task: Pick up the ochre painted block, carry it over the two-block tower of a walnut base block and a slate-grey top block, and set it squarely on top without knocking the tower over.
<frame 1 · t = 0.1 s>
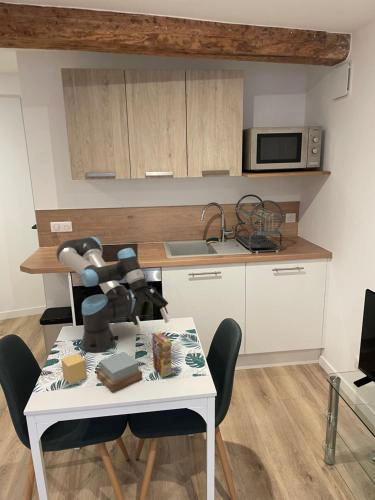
hand: (154, 326, 151), 15 cm above the table, tool tilted 35°, fingers open, 13 cm apart
ochre block: (75, 377, 143), on the table
candy box: (162, 371, 146), on the table
base block: (119, 379, 141), on the table, touching top block
top block: (119, 370, 140), point 3 cm above the table, touching base block
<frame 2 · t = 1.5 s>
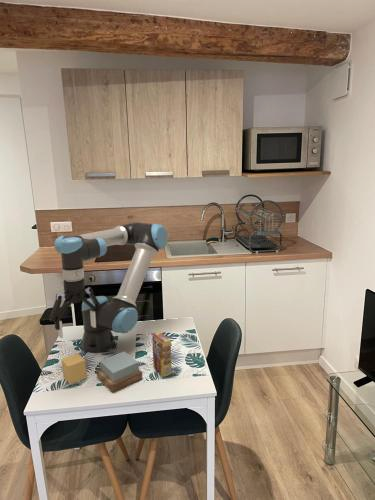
hand: (77, 331, 137), 20 cm above the table, tool pointing down, fingers open, 13 cm apart
nothing on the table moved.
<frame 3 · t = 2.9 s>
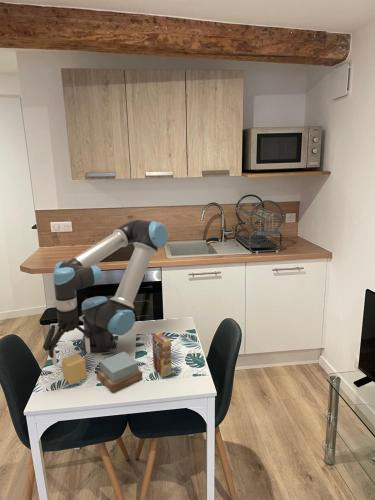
hand: (72, 358, 140), 9 cm above the table, tool pointing down, fingers open, 13 cm apart
nothing on the table moved.
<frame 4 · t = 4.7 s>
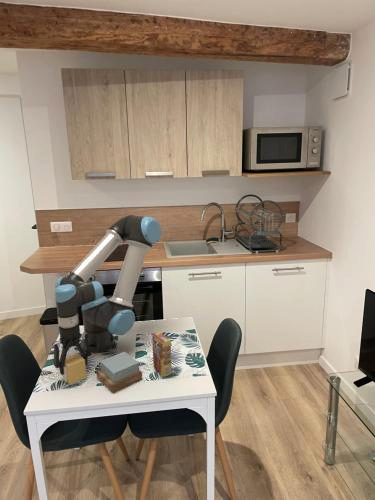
hand: (74, 376, 143), 0 cm above the table, tool pointing down, fingers closed on ochre block, 7 cm apart
ochre block: (74, 377, 143), on the table, touching gripper
everything else where it was.
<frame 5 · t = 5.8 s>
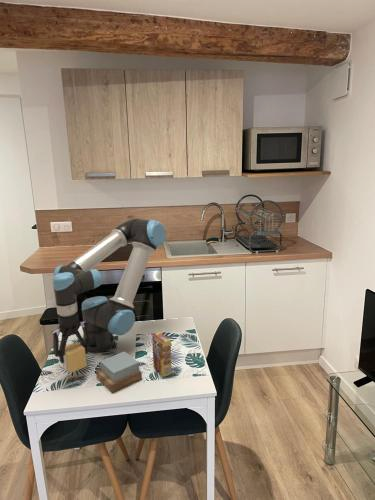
hand: (74, 365, 142), 5 cm above the table, tool pointing down, fingers closed on ochre block, 7 cm apart
ochre block: (75, 365, 142), point 5 cm above the table, touching gripper
everything else where it was.
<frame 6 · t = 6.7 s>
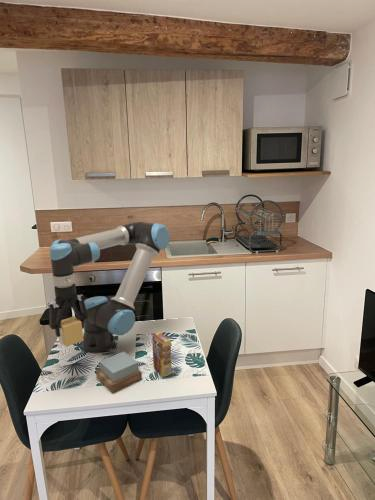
hand: (71, 339, 139), 16 cm above the table, tool pointing down, fingers closed on ochre block, 7 cm apart
ochre block: (71, 340, 139), point 16 cm above the table, touching gripper
everything else where it was.
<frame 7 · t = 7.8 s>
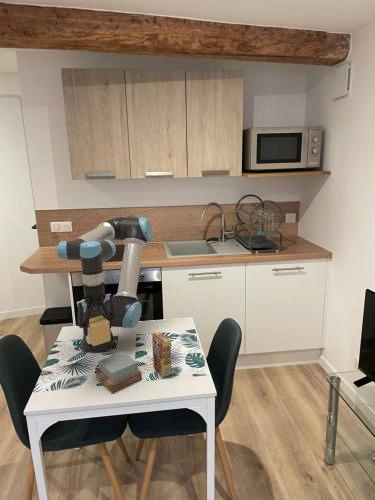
hand: (98, 339, 137), 17 cm above the table, tool pointing down, fingers closed on ochre block, 7 cm apart
ochre block: (98, 339, 137), point 17 cm above the table, touching gripper
everything else where it was.
when the fingers open (9 cm above the table, at t = 11.4 s): ochre block drops 1 cm, point 7 cm above the table.
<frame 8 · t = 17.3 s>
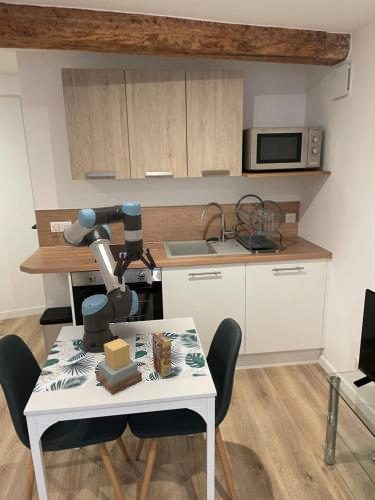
hand: (136, 286, 154), 31 cm above the table, tool pointing down, fingers open, 13 cm apart
ochre block: (117, 363, 138), point 7 cm above the table
top block: (118, 372, 139), point 3 cm above the table, touching base block
everything else where it was.
at the end: ochre block 0.4 cm off-centre on the top block, point 4.0 cm above the top block's base; ochre block tilted 0°; top block 0.4 cm off-centre on the base block, point 4.0 cm above the base block's base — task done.
